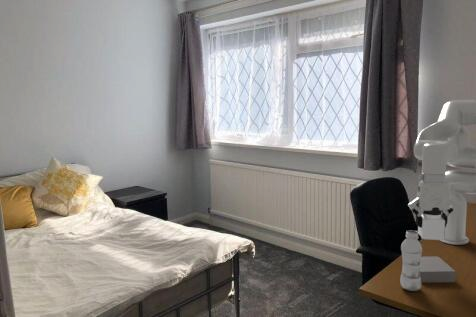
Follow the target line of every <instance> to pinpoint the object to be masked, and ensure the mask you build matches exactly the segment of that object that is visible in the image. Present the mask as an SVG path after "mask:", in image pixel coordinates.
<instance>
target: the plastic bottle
mask: <svg viewBox="0 0 476 317" xmlns="http://www.w3.org/2000/svg"><path fill="white" fill-rule="evenodd" d="M405 237H406V238H405V239H404V240H403V241H402V243H401V245H400V251H401V257H402V258H401V259H402V267H401V274H400V278H399V281H400V285H401V287H402V288H403V289H404V290H406V291H408V292H409V291H410V292H418V291H419V290H420V289H421V287H422V283H423V282H421V277H420V259H421V257H422V253H423V247H422V244H421V243H420V241H419V240H418V239H419V233H418V230H411V229H410V230H406V232H405Z"/></svg>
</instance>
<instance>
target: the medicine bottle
mask: <svg viewBox="0 0 476 317" xmlns="http://www.w3.org/2000/svg"><path fill="white" fill-rule="evenodd" d="M441 214H442V212H441V211H440V210H439V208H437V207H435V208H432V210H431V211H424V212H423V213H422V215H421V216H422V227H421V228H420V227H419V226H417V232H418V236H420V237H421V239H422V240H433V241H434V240H435V241H439V240H444V238H445V220H444V219H443V218H442V217H441Z"/></svg>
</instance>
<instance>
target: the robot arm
mask: <svg viewBox="0 0 476 317" xmlns="http://www.w3.org/2000/svg"><path fill="white" fill-rule="evenodd" d="M466 126H470V127H471V126H476V99H457V100H455V99H454V100H450V101H446V103H444V104H443V106H442V108H441V111H440V113H439V116H438V118H437V121H435V123H432V124H429V126H427V127H425V128H423V129H422V130H421V131H420V132H419V134H418V135H417V138H416V140H415V142H414V145H413V146H414V147H413V155H414V157H415V158H416V159H417V160H420V161H421V173H420V174H418V175H417V179H418V180H420V181H419V182H418V186H417V190H416V198H415V199H413V200H412V201H410V202H409V203H408V204H407V207H409V209H410V211H412V212H411V213H413V214H414V215H415V224H416V226H417V227H418V226H419V227H420V228H421V227H422V216H421V215H422V213H423V212H424V211H431V210H432V208H435V207H437V208H439V210H440V211H441V217H442V218H443V219H444V220H445V238H444V240H438V241H440V242H442V243H445V244H448V245H456V246H458V245H461V246H462V245H463V246H464V245H467V244H468V243H469V242H470V239H469V238H468V237H467V236H466V228H467V227H466V224H467V207H468V203H467V200H466V198H465V197H464V196H463V194H469V195H476V146H472V145H471V134H470V132H469V130H468V129H467V127H466ZM444 139H445V140H444ZM446 139H447V140H446ZM447 165H448V166H449V167H453V168H459V169H472V170H473V169H474V170H475V171H466V170H455V169H454V170H447ZM415 206H416V207H417V208H415Z"/></svg>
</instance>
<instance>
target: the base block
mask: <svg viewBox="0 0 476 317" xmlns="http://www.w3.org/2000/svg"><path fill="white" fill-rule="evenodd" d="M456 274H457V273H456V270H455V269H453V267H452V266H450V265H449V264H448V263H447V262H445V261H444V260H443V259H442V258H441V257H439V256H435V255H434V256H421V259H420V277H421V283H456Z"/></svg>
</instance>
